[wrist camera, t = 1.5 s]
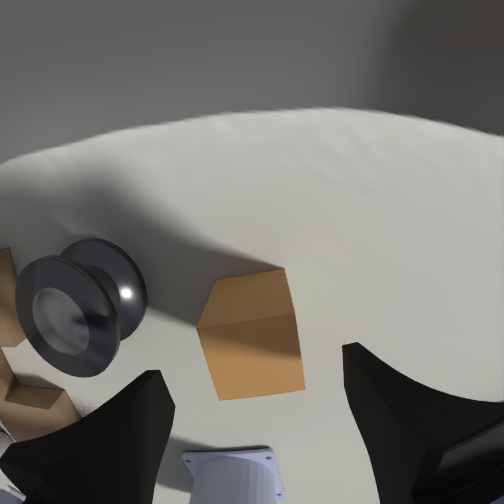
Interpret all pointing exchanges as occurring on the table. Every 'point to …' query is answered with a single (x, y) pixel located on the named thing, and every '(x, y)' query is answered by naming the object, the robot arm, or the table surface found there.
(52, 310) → the bobbin
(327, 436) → the table surface
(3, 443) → the molecule model
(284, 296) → the orange rectangular block
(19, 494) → the marker
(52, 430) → the notched board
